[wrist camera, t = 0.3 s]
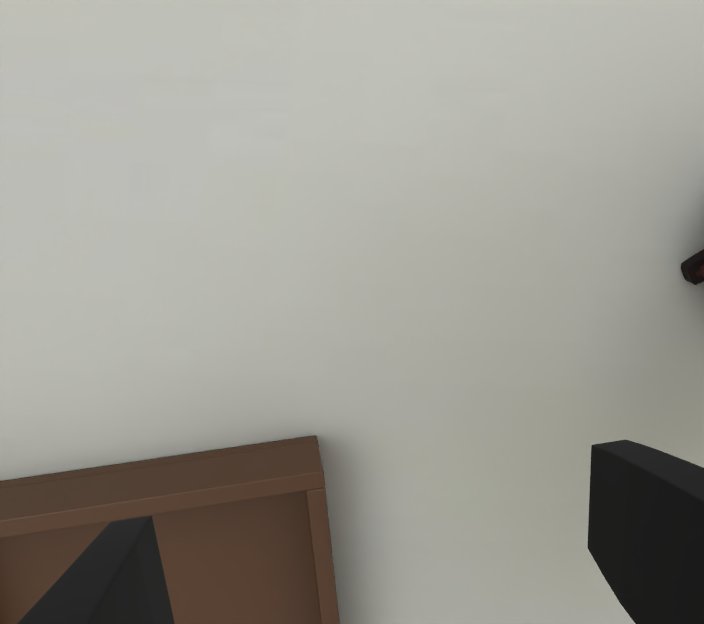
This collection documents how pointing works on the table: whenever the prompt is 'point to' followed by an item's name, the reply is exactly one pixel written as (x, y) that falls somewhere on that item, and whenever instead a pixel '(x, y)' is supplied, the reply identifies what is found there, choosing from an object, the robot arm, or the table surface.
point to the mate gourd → (694, 268)
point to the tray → (186, 531)
